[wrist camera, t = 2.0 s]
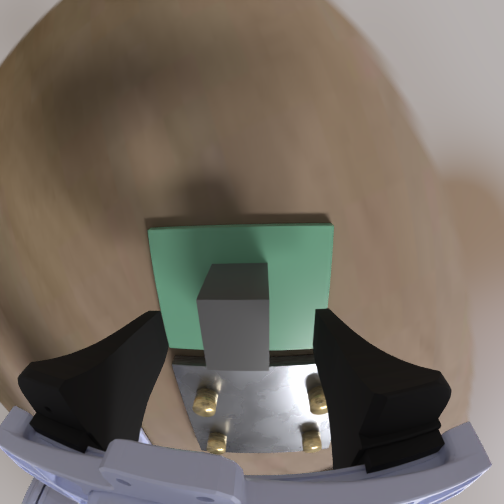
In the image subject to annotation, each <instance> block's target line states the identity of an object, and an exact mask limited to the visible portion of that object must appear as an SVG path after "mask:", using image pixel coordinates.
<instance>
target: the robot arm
mask: <svg viewBox="0 0 504 504" xmlns="http://www.w3.org/2000/svg"><path fill="white" fill-rule="evenodd" d="M168 347H169V343H168V339H167V336H166V332H165V328H164V324H163V319H162V315H161V311H148V312H146V313H144V314H143V315H141V316H139V317H138V318H136V319H135V320H133V321H132V322H130V323H129V324H127V325H126V326H124V327H123V328H121V329H120V330H118V331H117V332H115V333H113V334H112V335H110V336H108V337H107V338H105V339H103V340H101V341H99V342H98V343H96V344H93V345H91V346H89V347H87V348H85V349H82V350H79V351H77V352H74V353H71V354H68V355H65V356H62V357H58V358H54V359H49V360H43V361H37V362H31V363H30V364H29V365H28V366H27V367H26V368H25V369H24V371H23V372H22V373H21V374H20V375H19V377H18V384H19V387H20V389H21V391H22V393H23V394H24V396H25V397H26V399H27V400H28V402H29V403H30V404H31V406H32V407H33V409H34V410H35V411H36V414H35V415H34V417H33V416H32V415H31V414H30V413H28V412H27V411H25V410H23V409H21V408H19V407H17V406H14V407H13V408H12V409H11V411H10V412H9V414H8V415H7V416H6V418H5V419H4V421H3V422H2V423H1V425H0V448H1V449H2V450H3V451H4V452H5V453H6V454H7V455H8V456H9V457H10V458H11V459H12V460H13V461H14V462H15V463H16V464H17V465H18V466H19V467H20V468H21V469H23V470H24V471H26V472H28V473H29V474H30V475H32V476H33V477H34V478H33V480H32V482H31V484H30V486H29V488H28V490H27V492H26V494H25V497H24V499H23V502H22V504H440V503H442V502H444V501H446V500H448V499H450V498H452V497H454V496H455V495H458V494H459V493H461V492H462V491H463V490H464V489H466V488H467V487H468V486H470V485H471V484H472V483H473V482H474V481H476V480H477V479H478V478H479V477H480V476H481V475H483V474H484V473H485V472H486V471H487V470H488V469H489V468H490V467H491V465H492V464H491V462H490V460H489V457H488V455H487V454H486V451H485V449H484V447H483V445H482V444H481V442H480V440H479V438H478V436H477V434H476V432H475V430H474V429H473V427H472V425H471V423H470V422H466V423H463V424H461V425H459V426H457V427H454V428H452V429H449V430H448V431H446V432H444V433H443V434H442V435H441V434H440V432H439V430H438V429H440V427H441V423H440V421H439V419H438V418H439V416H440V415H441V413H442V412H443V410H444V408H445V407H446V405H447V403H448V401H449V399H450V397H451V388H450V386H449V384H448V383H447V381H446V380H445V378H444V376H443V375H442V374H441V372H440V371H437V370H432V369H428V368H424V367H420V366H417V365H414V364H411V363H408V362H405V361H403V360H400V359H398V358H396V357H394V356H391V355H389V354H387V353H385V352H384V351H382V350H380V349H378V348H377V347H375V346H373V345H372V344H370V343H369V342H367V341H366V340H364V339H363V338H362V337H360V336H359V335H358V334H357V333H355V332H354V331H353V330H352V329H350V328H349V327H348V326H347V325H346V324H345V323H344V322H343V321H341V320H340V319H339V318H338V317H337V316H336V315H335V314H334V313H333V312H332V311H331V310H330V309H329V308H326V309H315V321H314V333H313V352H314V359H315V364H316V368H317V371H318V375H319V378H320V382H321V385H322V389H323V393H324V396H325V400H326V405H327V410H328V418H329V425H330V434H331V444H332V457H333V470H329V471H321V472H312V473H302V474H287V475H244V473H243V470H242V469H241V467H240V466H239V465H238V464H237V463H236V462H234V461H233V460H230V459H228V458H225V457H223V456H221V455H215V454H210V453H205V452H197V451H189V450H181V449H174V448H168V447H162V446H156V445H152V444H151V443H150V441H149V440H148V438H147V436H146V435H145V433H144V431H143V429H142V428H141V426H142V421H143V417H144V413H145V409H146V406H147V402H148V400H149V397H150V394H151V392H152V390H153V387H154V385H155V383H156V380H157V378H158V376H159V374H160V371H161V369H162V367H163V364H164V362H165V358H166V355H167V351H168Z"/></svg>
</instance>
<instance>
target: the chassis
mask: <svg viewBox="0 0 504 504" xmlns="http://www.w3.org/2000/svg"><path fill="white" fill-rule="evenodd" d="M172 367H173V370H174V374H175V377H176V380H177V383H178V386H179V390H180V393H181V396H182V399H183V402H184V405H185V407H186V410H187V413H188V416H189V419H190V422H191V424H192V427H193V430H194V432H195V435H196V437H197V440H198V443H199V445H200V448H201V450H204V451H208V452H210V453H213V454H223V453H225V452H236V453H276V452H295V451H304V452H306V453H313V452H317V451H319V450H321V449H325V448H328V447H329V444H330V441H331V434H330V425H329V418H328V410H327V405H326V400H325V396H324V393H323V389H322V385H321V382H320V378H319V375H318V371H317V368H316V364H315V359H314V355H301V356H282V357H269V371H220V370H207V366H206V360H205V357H196V356H177V355H175V358H174V360H173V363H172Z"/></svg>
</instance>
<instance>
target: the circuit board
mask: <svg viewBox="0 0 504 504" xmlns="http://www.w3.org/2000/svg"><path fill="white" fill-rule="evenodd" d="M333 232H334V225H333V224H332V223H287V224H235V225H203V226H177V227H155V228H150V229H149V230H148V238H149V245H150V252H151V258H152V264H153V270H154V276H155V282H156V287H157V293H158V298H159V303H160V308H161V313H162V317H163V322H164V326H165V331H166V335H167V339H168V343H169V347H170V348H182V349H200V350H204V354H205V360H206V366H207V370H220V371H269V350H298V349H313V333H314V321H315V309H326V308H327V307H328V297H329V287H330V276H331V264H332V249H333Z"/></svg>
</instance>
